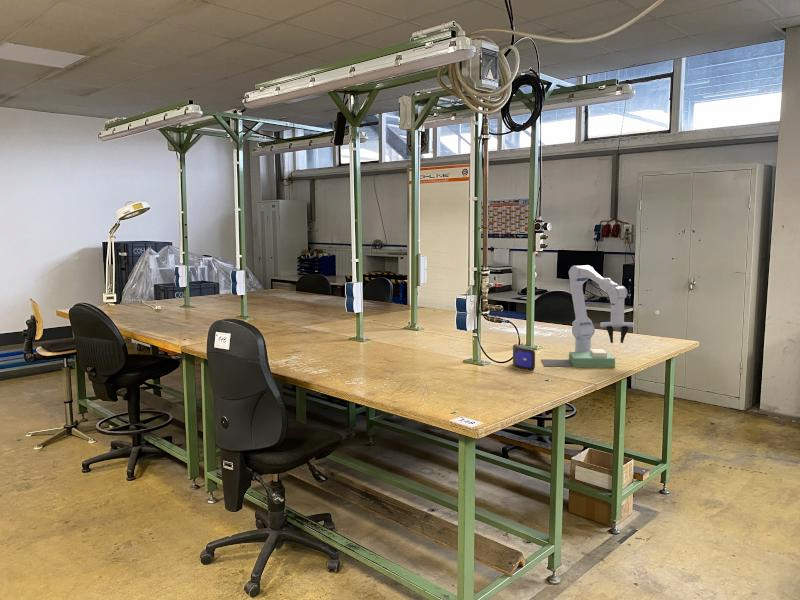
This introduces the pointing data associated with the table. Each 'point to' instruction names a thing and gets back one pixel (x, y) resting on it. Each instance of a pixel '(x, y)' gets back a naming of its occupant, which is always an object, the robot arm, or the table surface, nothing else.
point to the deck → (590, 360)
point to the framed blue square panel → (523, 357)
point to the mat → (556, 363)
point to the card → (598, 352)
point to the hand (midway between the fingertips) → (616, 342)
